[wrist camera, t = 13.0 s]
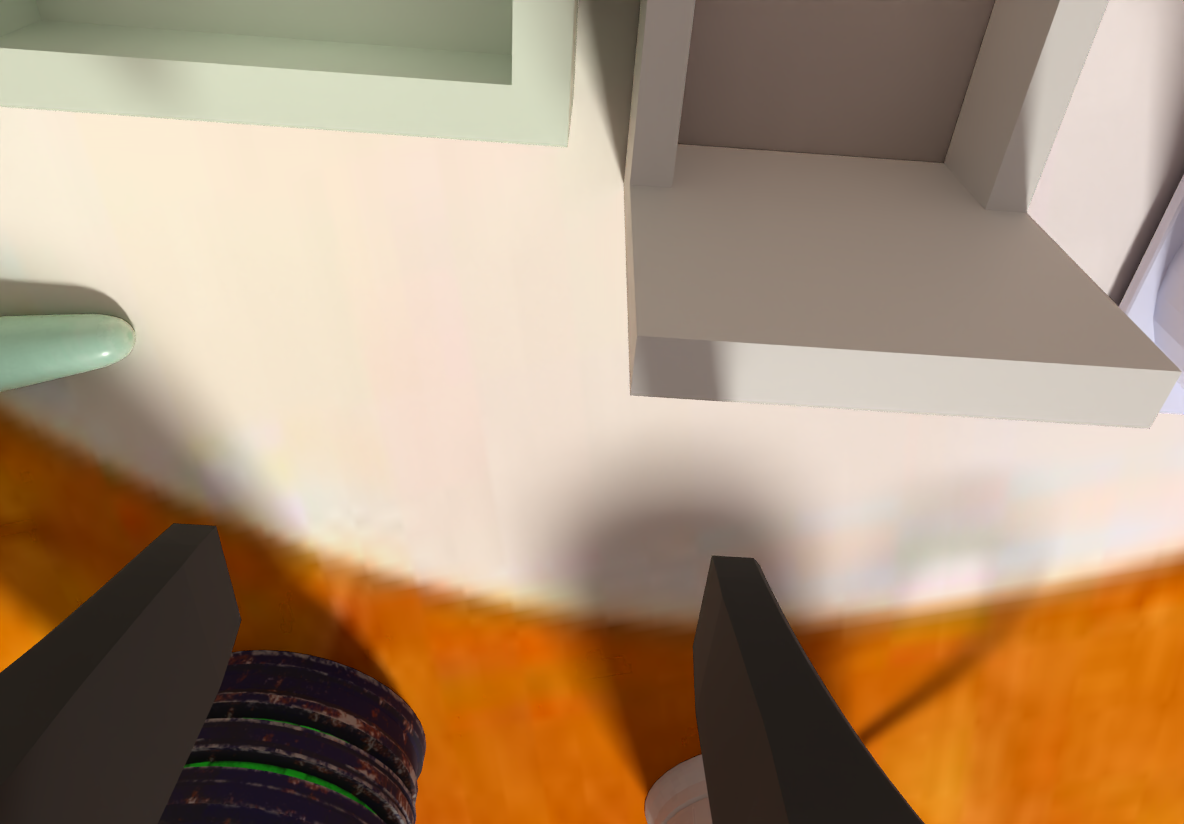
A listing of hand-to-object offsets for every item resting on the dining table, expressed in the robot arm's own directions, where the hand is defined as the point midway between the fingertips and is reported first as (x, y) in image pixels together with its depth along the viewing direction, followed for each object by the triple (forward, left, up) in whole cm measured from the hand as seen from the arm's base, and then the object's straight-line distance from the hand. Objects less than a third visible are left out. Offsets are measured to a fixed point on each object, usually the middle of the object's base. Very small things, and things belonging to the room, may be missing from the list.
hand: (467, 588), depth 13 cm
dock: (-6, -5, -9) cm, 12 cm away
